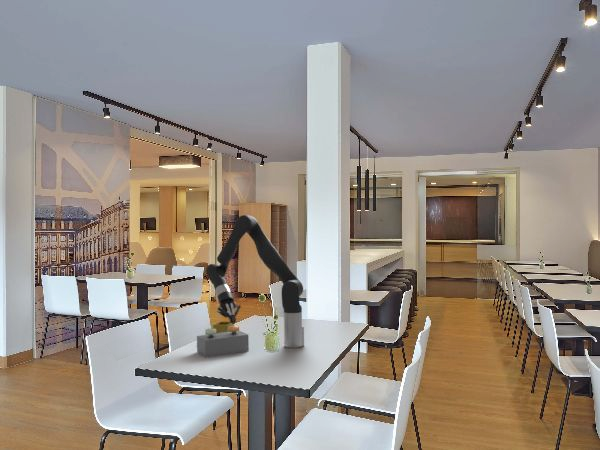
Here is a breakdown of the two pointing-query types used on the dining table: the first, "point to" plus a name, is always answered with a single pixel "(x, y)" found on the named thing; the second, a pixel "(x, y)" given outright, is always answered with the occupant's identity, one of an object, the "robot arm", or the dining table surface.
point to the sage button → (210, 332)
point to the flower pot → (222, 326)
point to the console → (222, 344)
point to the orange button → (233, 329)
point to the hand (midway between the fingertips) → (233, 322)
